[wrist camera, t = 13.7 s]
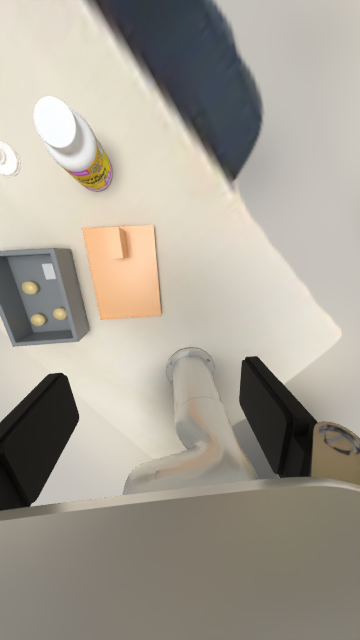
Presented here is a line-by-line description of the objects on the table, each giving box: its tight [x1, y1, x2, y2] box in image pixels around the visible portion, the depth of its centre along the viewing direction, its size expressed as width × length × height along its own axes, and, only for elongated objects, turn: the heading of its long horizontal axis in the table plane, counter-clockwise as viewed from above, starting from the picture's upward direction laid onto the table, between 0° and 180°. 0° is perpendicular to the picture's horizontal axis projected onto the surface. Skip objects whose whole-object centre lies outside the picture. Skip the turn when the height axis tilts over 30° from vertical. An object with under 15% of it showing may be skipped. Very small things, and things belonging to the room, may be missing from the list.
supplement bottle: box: [34, 96, 112, 191], centre depth 27 cm, size 7×7×13 cm
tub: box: [0, 248, 90, 347], centre depth 37 cm, size 18×13×6 cm
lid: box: [82, 225, 161, 320], centre depth 37 cm, size 19×14×7 cm
